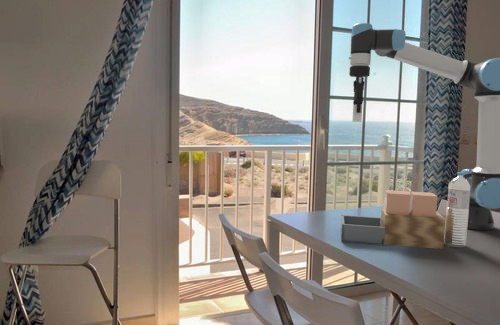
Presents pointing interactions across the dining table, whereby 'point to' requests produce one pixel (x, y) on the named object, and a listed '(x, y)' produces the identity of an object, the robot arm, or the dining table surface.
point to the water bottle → (457, 212)
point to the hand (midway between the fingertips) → (356, 121)
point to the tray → (362, 230)
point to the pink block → (397, 202)
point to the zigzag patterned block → (413, 230)
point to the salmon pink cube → (423, 204)
